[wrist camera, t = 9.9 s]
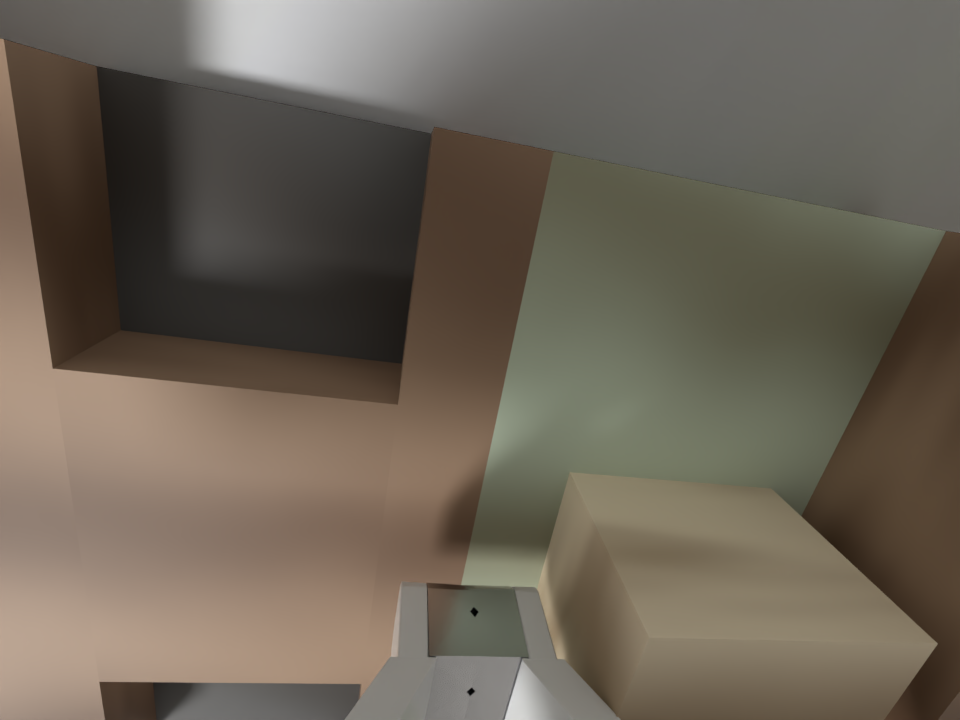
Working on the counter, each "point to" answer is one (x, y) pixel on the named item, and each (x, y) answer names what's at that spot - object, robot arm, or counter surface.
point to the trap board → (410, 385)
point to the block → (718, 607)
